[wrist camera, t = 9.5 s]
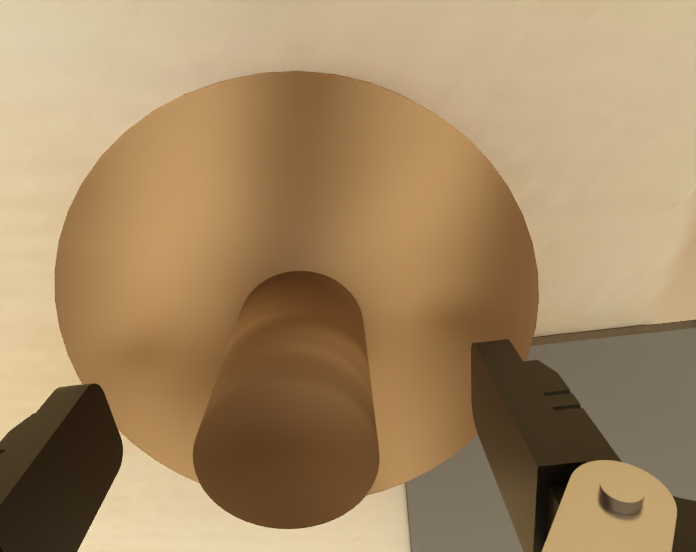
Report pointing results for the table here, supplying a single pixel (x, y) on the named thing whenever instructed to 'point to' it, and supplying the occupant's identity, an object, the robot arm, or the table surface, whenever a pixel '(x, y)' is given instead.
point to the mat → (604, 410)
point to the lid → (292, 289)
